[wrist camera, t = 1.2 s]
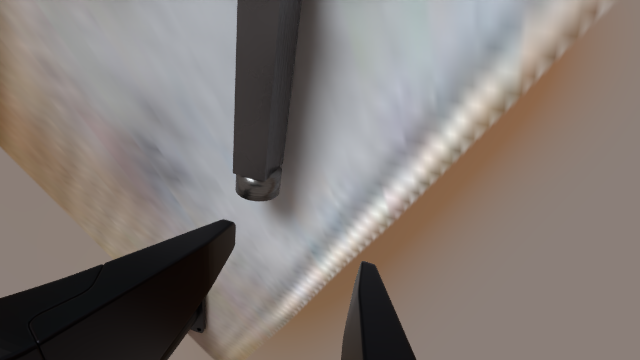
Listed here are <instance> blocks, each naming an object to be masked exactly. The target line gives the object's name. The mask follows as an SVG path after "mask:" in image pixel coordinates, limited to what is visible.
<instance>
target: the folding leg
mask: <svg viewBox="0 0 640 360" xmlns="http://www.w3.org/2000/svg"><path fill="white" fill-rule="evenodd" d="M300 9H301V0H238V6H237V42H236V78H235V115H234V151H233V173H234V174H236V193H237V194H238V195H239V196H241V197H242V198H244V199H247V200H251V201H267V200H271V199H273V198H275V197H277V196H278V194H279V190H280V181H281V172H282V168H281V167H280V165H281V164H282V163H283V157H284V148H285V139H286V131H287V122H288V113H289V105H290V96H291V87H292V78H293V70H294V61H295V52H296V44H297V35H298V26H299V17H300Z"/></svg>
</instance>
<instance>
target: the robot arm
mask: <svg viewBox="0 0 640 360" xmlns="http://www.w3.org/2000/svg"><path fill="white" fill-rule="evenodd" d="M235 233H236V225H235V223H234V222H231V221H228V220H224V219H223V220H219V221H217V222H214V223H211V224H209V225H206V226H203V227H201V228H198V229H195V230H193V231H190V232H187V233H184V234H182V235H179V236H176V237H174V238H171V239H168V240H166V241H163V242H160V243H158V244H155V245H152V246H150V247H147V248H144V249H142V250H139V251H136V252H133V253H131V254H128V255H125V256H123V257H120V258H117V259H115V260H112V261H109V262H107V263H105V264H104V265H98V266H96V267H93V268H90V269H88V270H85V271H82V272H79V273H76V274H74V275H71V276H68V277H65V278H62V279H59V280H56V281H53V282H50V283H47V284H44V285H41V286H38V287H35V288H32V289H28V290H25V291H22V292H19V293H16V294H13V295H9V296H6V297H3V298H0V360H168V358H169V357H170V356H171V354H172V353H173V352H174V350H175V349H176V347H177V346H178V345H179V344H180V342H181V341H182V339H183V338H184V337H185V335H186V334H187V333H188V331H189V330H190V329H191V330H194V331H196V332H199V333H202V332H203V331H204V330H205V328H206V326H205V296H206V295H207V293H208V292H209V290H210V289H211V287H212V285H213V284H214V282H215V280H216V279H217V277H218V275H219V273H220V272H221V270H222V268H223V266H224V265H225V263H226V261H227V259H228V258H229V256H230V254H231V252H232V251H233V248H234V246H235ZM341 360H416V358H415V355H414V353H413V351H412V349H411V346H410V344H409V342H408V340H407V338H406V335H405V332H404V330H403V328H402V325H401V323H400V321H399V318H398V316H397V314H396V312H395V309H394V307H393V305H392V302H391V300H390V298H389V296H388V293H387V291H386V288H385V286H384V284H383V282H382V279H381V277H380V275H379V273H378V270H377V268H376V266H375V265H374V264H372V263H368V262H365V261H362V262H361V264H360V267H359V270H358V274H357V277H356V280H355V284H354V288H353V293H352V298H351V302H350V307H349V311H348V316H347V321H346V326H345V331H344V336H343V345H342V355H341Z"/></svg>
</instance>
